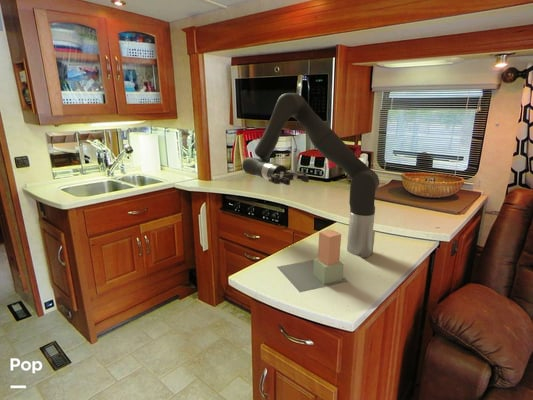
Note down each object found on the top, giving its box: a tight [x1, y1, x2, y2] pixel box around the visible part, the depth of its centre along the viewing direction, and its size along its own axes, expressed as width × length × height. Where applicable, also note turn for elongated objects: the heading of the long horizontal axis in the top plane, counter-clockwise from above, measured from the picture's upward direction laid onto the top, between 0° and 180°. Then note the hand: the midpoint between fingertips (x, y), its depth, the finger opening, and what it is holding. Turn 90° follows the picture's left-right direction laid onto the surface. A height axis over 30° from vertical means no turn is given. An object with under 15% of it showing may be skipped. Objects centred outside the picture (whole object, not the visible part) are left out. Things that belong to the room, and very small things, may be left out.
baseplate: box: [276, 259, 349, 293], centre depth 118 cm, size 18×18×1 cm
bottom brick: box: [313, 257, 344, 284], centre depth 115 cm, size 7×7×6 cm
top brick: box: [317, 228, 342, 266], centre depth 113 cm, size 5×5×10 cm
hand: (298, 181), depth 125 cm, fingers open, 8 cm apart
